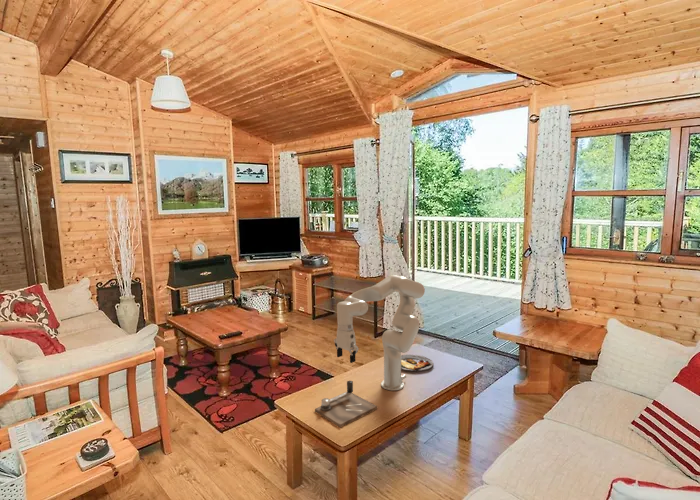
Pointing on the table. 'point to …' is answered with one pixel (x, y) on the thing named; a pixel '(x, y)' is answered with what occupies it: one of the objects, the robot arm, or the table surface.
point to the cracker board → (346, 410)
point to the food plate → (415, 363)
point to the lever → (327, 402)
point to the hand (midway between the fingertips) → (346, 359)
